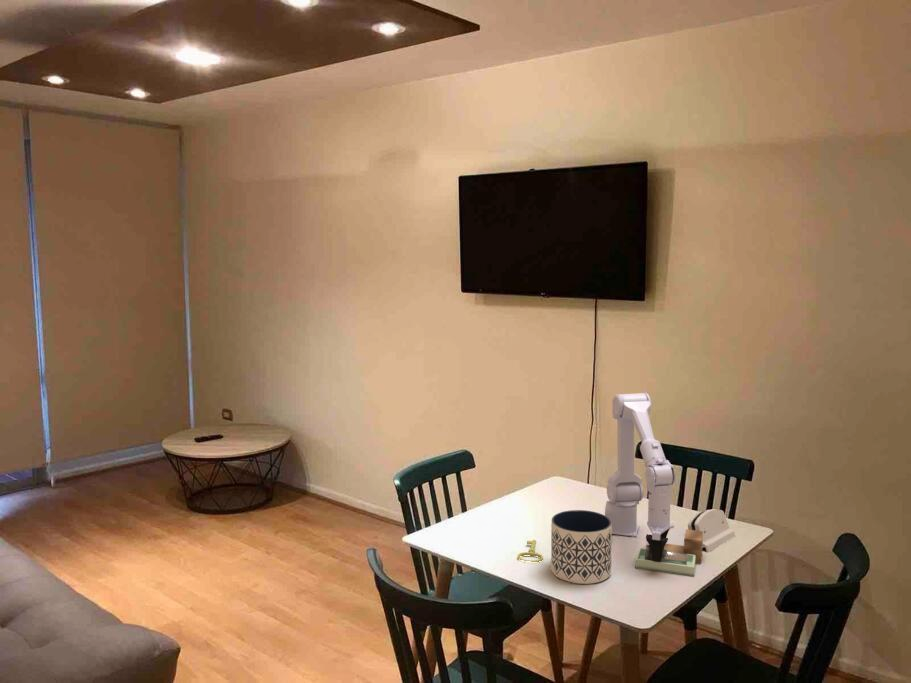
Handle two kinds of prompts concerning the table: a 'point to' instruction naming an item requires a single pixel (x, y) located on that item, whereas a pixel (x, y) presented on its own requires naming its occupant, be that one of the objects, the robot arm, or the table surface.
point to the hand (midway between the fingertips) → (658, 555)
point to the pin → (668, 556)
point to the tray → (665, 564)
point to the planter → (581, 546)
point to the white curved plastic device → (711, 528)
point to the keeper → (689, 544)
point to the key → (531, 552)
